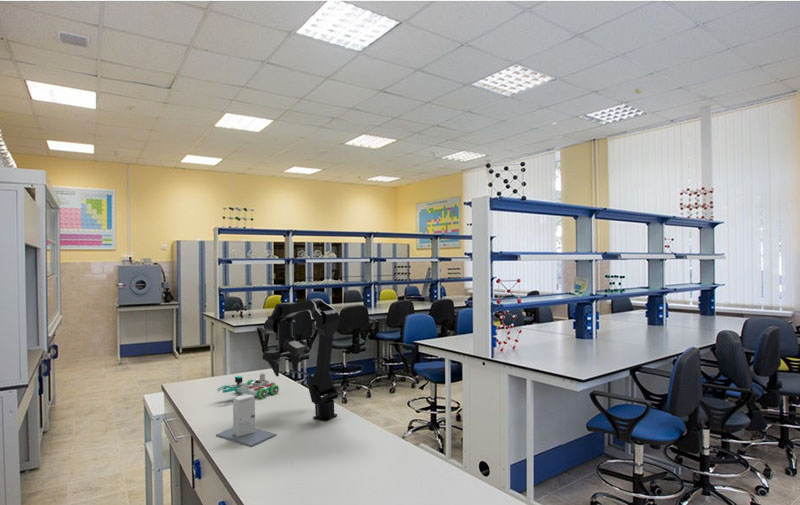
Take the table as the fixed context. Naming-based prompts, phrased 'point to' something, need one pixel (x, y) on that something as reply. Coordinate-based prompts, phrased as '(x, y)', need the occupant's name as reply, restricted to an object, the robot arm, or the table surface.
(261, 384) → the robot kit
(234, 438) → the blue-gray mat
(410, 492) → the table surface
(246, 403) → the skincare box
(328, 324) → the robot arm
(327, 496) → the table surface
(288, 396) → the table surface
